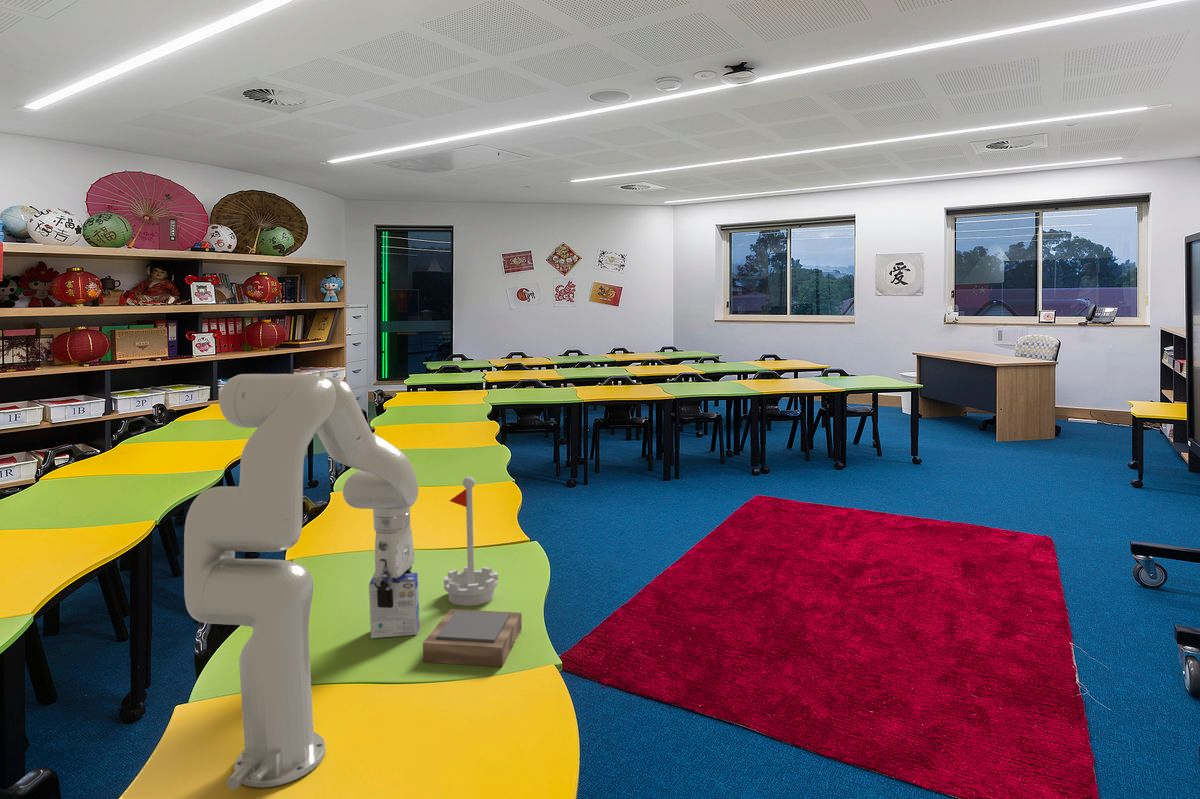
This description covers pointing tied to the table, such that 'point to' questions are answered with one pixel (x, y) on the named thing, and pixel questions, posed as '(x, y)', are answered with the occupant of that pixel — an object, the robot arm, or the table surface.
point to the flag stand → (470, 563)
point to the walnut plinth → (473, 638)
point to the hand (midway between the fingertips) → (395, 597)
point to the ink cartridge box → (396, 608)
